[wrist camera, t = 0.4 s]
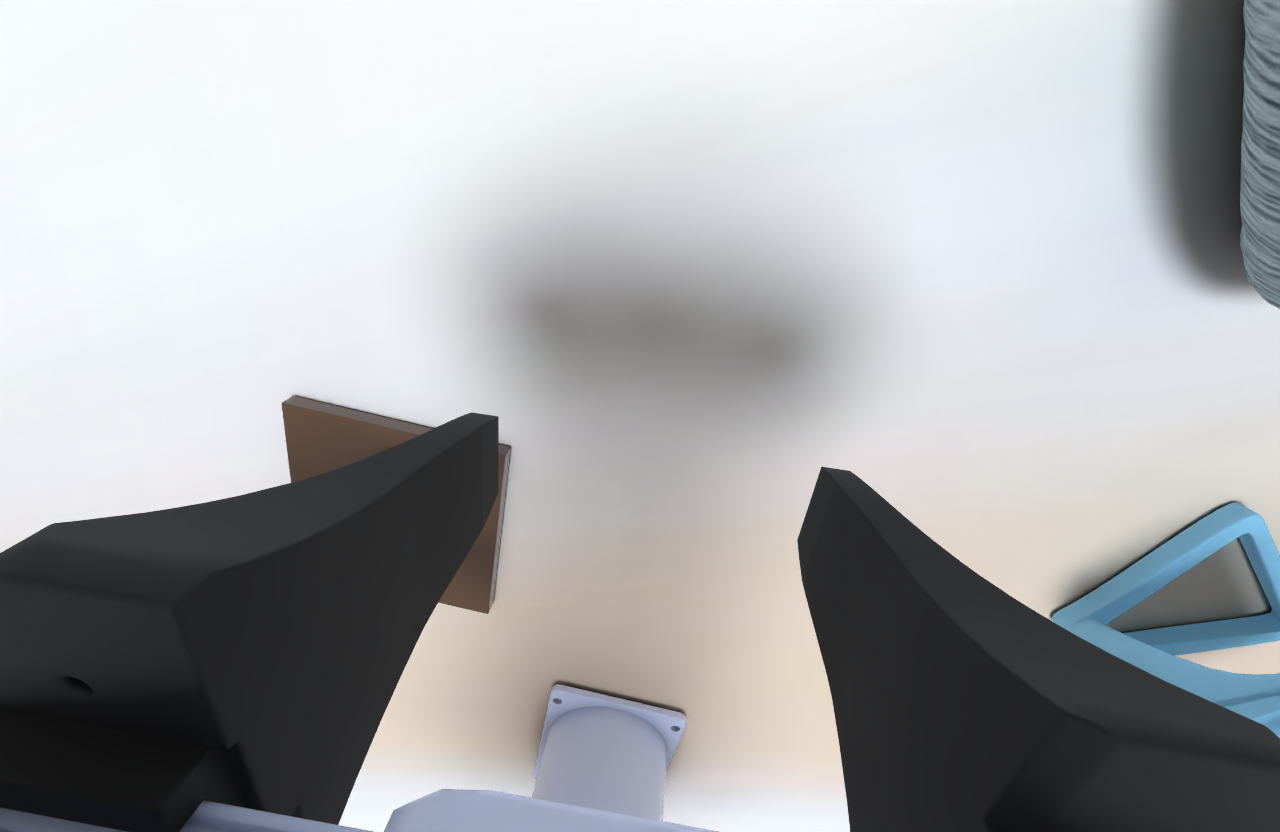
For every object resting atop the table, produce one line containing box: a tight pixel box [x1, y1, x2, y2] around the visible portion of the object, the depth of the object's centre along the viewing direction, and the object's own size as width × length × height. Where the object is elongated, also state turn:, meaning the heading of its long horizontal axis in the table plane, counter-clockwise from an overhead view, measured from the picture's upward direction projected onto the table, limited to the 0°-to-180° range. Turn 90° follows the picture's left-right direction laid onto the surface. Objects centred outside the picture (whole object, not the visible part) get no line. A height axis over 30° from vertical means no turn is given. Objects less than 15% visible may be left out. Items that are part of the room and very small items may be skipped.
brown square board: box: [282, 396, 511, 614], centre depth 24 cm, size 10×10×5 cm
